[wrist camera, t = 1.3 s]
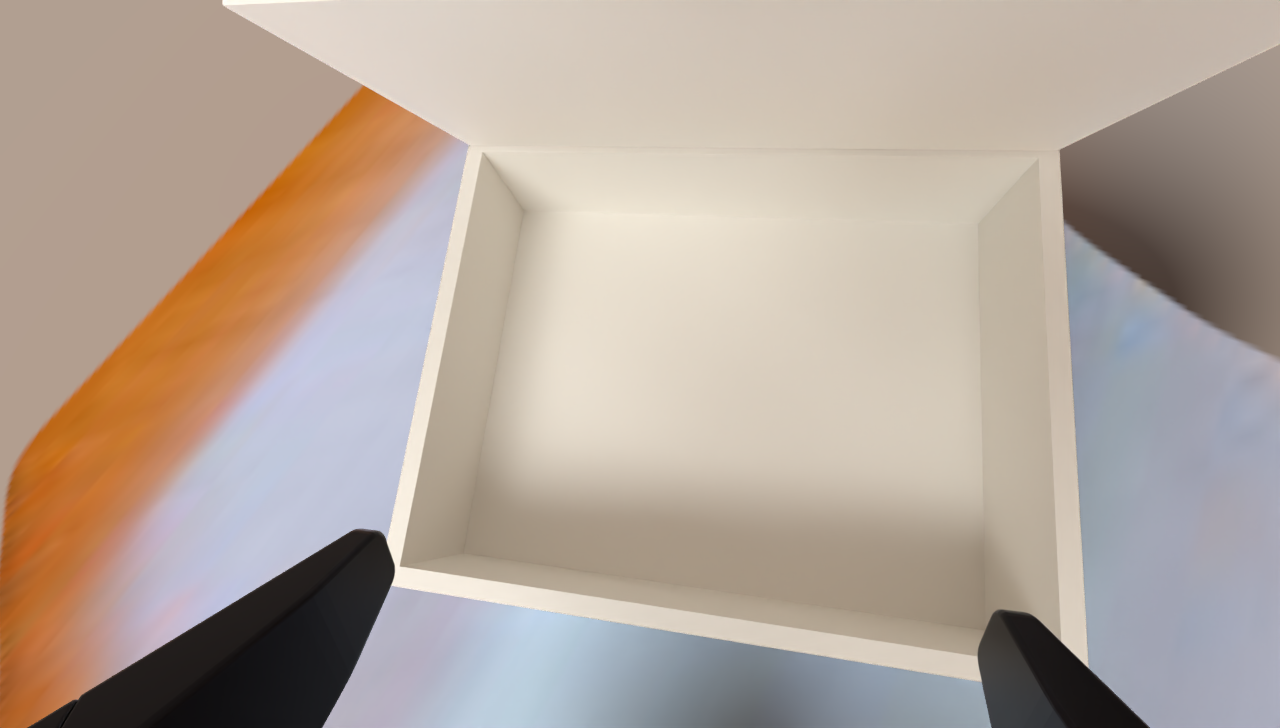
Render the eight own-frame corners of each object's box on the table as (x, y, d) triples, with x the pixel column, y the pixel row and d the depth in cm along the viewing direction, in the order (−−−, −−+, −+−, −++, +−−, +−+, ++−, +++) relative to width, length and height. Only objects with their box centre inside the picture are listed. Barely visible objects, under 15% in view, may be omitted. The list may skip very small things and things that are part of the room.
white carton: (997, 647, 19) (1090, 699, 14) (453, 565, 22) (378, 583, 17) (987, 218, 22) (1058, 141, 17) (518, 204, 26) (470, 137, 21)
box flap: (1056, 150, 17) (1472, -48, 7) (470, 145, 21) (222, 5, 11) (1059, 137, 17) (1479, -80, 7) (470, 134, 21) (222, -17, 11)
